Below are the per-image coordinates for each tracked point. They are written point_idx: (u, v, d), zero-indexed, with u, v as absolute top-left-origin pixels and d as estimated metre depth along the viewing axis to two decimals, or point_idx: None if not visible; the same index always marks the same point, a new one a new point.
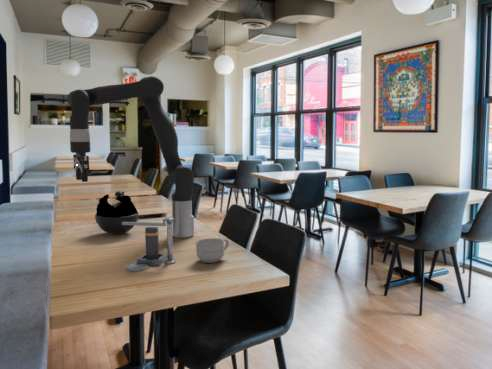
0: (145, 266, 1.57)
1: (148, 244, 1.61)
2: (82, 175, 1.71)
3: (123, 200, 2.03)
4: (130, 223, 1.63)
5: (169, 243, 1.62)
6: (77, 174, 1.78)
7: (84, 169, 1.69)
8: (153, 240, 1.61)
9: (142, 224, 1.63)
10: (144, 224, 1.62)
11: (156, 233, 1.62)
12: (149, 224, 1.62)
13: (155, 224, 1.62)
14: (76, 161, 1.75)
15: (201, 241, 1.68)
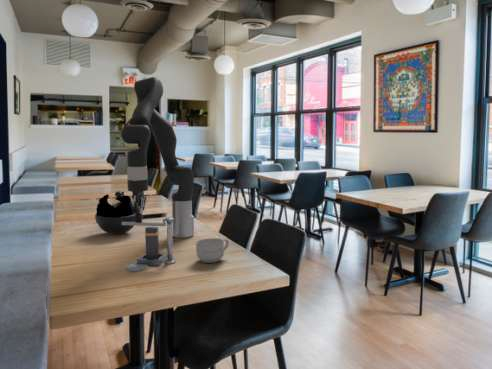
0: (145, 266, 1.57)
1: (148, 244, 1.61)
2: (141, 216, 1.65)
3: (123, 200, 2.03)
4: (130, 223, 1.63)
5: (169, 243, 1.62)
6: None
7: None
8: (153, 240, 1.61)
9: (142, 224, 1.62)
10: (144, 224, 1.62)
11: (156, 233, 1.62)
12: (149, 224, 1.62)
13: (155, 224, 1.62)
14: None
15: (201, 241, 1.68)
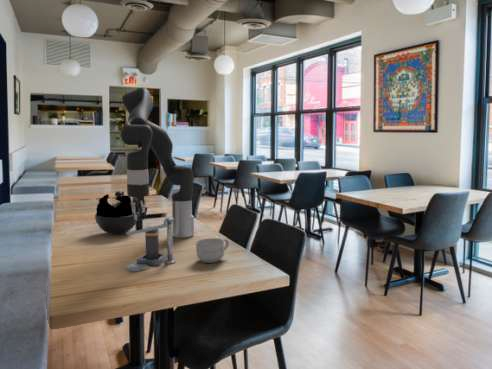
0: (145, 266, 1.57)
1: (148, 244, 1.61)
2: None
3: (123, 200, 2.03)
4: (136, 231, 1.50)
5: (169, 243, 1.62)
6: None
7: None
8: (153, 240, 1.61)
9: (148, 230, 1.54)
10: (149, 229, 1.54)
11: (156, 233, 1.62)
12: (154, 228, 1.56)
13: (159, 227, 1.57)
14: None
15: (201, 241, 1.68)
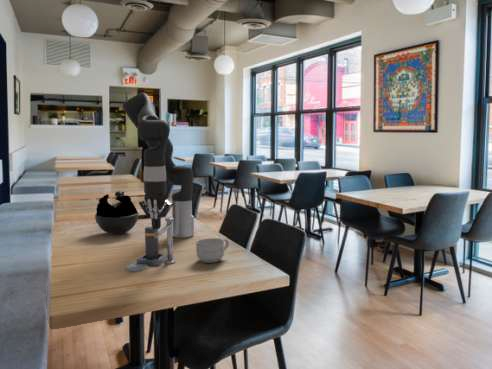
0: (145, 266, 1.57)
1: (148, 244, 1.61)
2: None
3: (123, 200, 2.03)
4: (160, 233, 1.47)
5: (169, 243, 1.62)
6: None
7: None
8: (153, 240, 1.61)
9: (164, 231, 1.52)
10: (164, 230, 1.52)
11: None
12: (166, 229, 1.54)
13: (167, 227, 1.57)
14: None
15: (201, 241, 1.68)
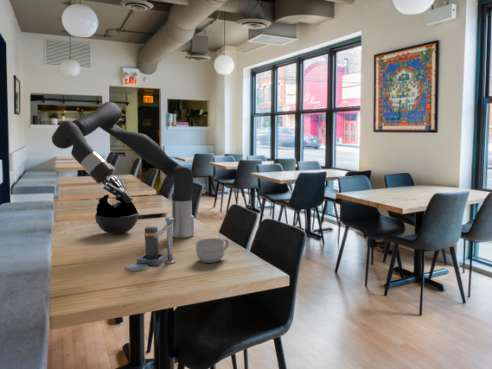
0: (145, 266, 1.57)
1: (148, 244, 1.61)
2: (127, 194, 1.58)
3: (123, 200, 2.03)
4: (160, 233, 1.47)
5: (169, 243, 1.62)
6: None
7: None
8: (153, 240, 1.61)
9: (164, 231, 1.52)
10: (164, 230, 1.52)
11: None
12: (166, 229, 1.54)
13: (167, 227, 1.57)
14: (114, 181, 1.56)
15: (201, 241, 1.68)
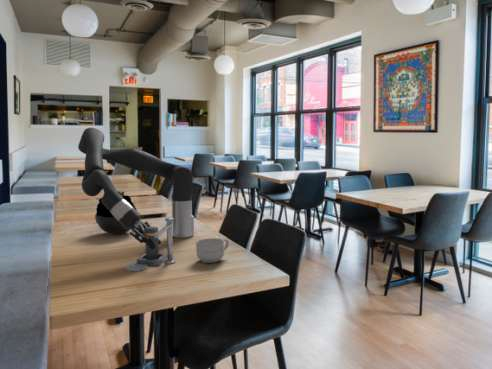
0: (145, 266, 1.57)
1: None
2: None
3: None
4: (160, 233, 1.47)
5: (169, 243, 1.62)
6: None
7: None
8: (153, 240, 1.61)
9: (164, 231, 1.52)
10: (164, 230, 1.52)
11: None
12: (166, 229, 1.54)
13: (167, 227, 1.57)
14: (142, 227, 1.62)
15: (201, 241, 1.68)
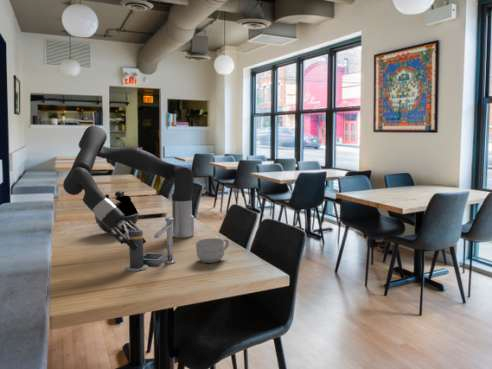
0: (145, 266, 1.57)
1: None
2: None
3: (123, 200, 2.03)
4: (160, 233, 1.47)
5: (169, 243, 1.62)
6: None
7: None
8: (138, 243, 1.54)
9: (164, 231, 1.52)
10: (164, 230, 1.52)
11: (141, 236, 1.55)
12: (166, 229, 1.54)
13: (167, 227, 1.57)
14: None
15: (201, 241, 1.68)
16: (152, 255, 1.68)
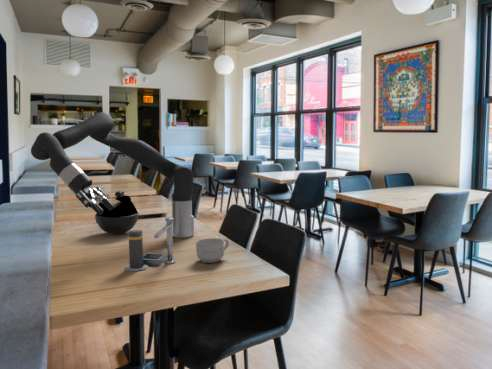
0: (145, 266, 1.57)
1: (132, 248, 1.54)
2: (109, 202, 1.60)
3: (123, 200, 2.03)
4: (160, 233, 1.47)
5: (169, 243, 1.62)
6: None
7: None
8: (137, 244, 1.54)
9: (164, 231, 1.52)
10: (164, 230, 1.52)
11: (140, 237, 1.54)
12: (166, 229, 1.54)
13: (167, 227, 1.57)
14: (92, 193, 1.54)
15: (201, 241, 1.68)
16: (152, 255, 1.68)
